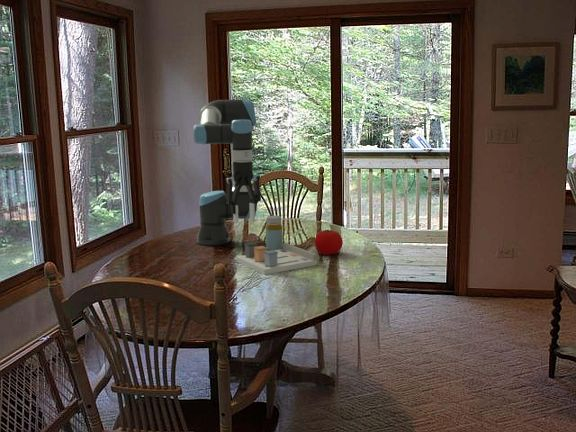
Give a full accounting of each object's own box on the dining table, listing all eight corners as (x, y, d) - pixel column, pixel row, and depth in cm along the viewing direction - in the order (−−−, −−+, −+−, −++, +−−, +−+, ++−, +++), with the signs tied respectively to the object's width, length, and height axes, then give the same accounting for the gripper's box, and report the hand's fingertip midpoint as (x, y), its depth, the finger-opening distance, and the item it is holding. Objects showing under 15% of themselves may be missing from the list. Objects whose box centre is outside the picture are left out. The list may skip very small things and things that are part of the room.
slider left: (244, 255, 244) (244, 243, 243) (252, 254, 246) (252, 241, 245) (249, 257, 241) (248, 245, 240) (257, 256, 243) (257, 243, 242)
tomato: (324, 249, 262) (324, 225, 260) (347, 252, 256) (347, 229, 254) (309, 255, 253) (309, 230, 251) (332, 259, 246) (333, 234, 244)
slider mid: (254, 259, 237) (253, 247, 236) (262, 258, 239) (262, 245, 238) (258, 261, 234) (258, 249, 233) (267, 260, 236) (267, 247, 235)
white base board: (236, 261, 244) (235, 250, 243) (286, 252, 257) (286, 242, 256) (264, 274, 225) (264, 263, 224) (316, 265, 238) (316, 254, 237)
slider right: (264, 264, 231) (264, 251, 230) (272, 262, 233) (272, 249, 232) (269, 266, 228) (269, 253, 226) (277, 265, 229) (277, 251, 228)
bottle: (280, 252, 257) (280, 218, 254) (264, 252, 258) (264, 218, 255) (283, 248, 264) (283, 215, 261) (268, 248, 265) (267, 215, 262)
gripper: (223, 163, 217) (225, 225, 222) (269, 160, 227) (270, 219, 232) (214, 161, 224) (216, 222, 228) (260, 158, 234) (261, 216, 238)
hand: (244, 220), depth 230 cm, fingers open, 6 cm apart
